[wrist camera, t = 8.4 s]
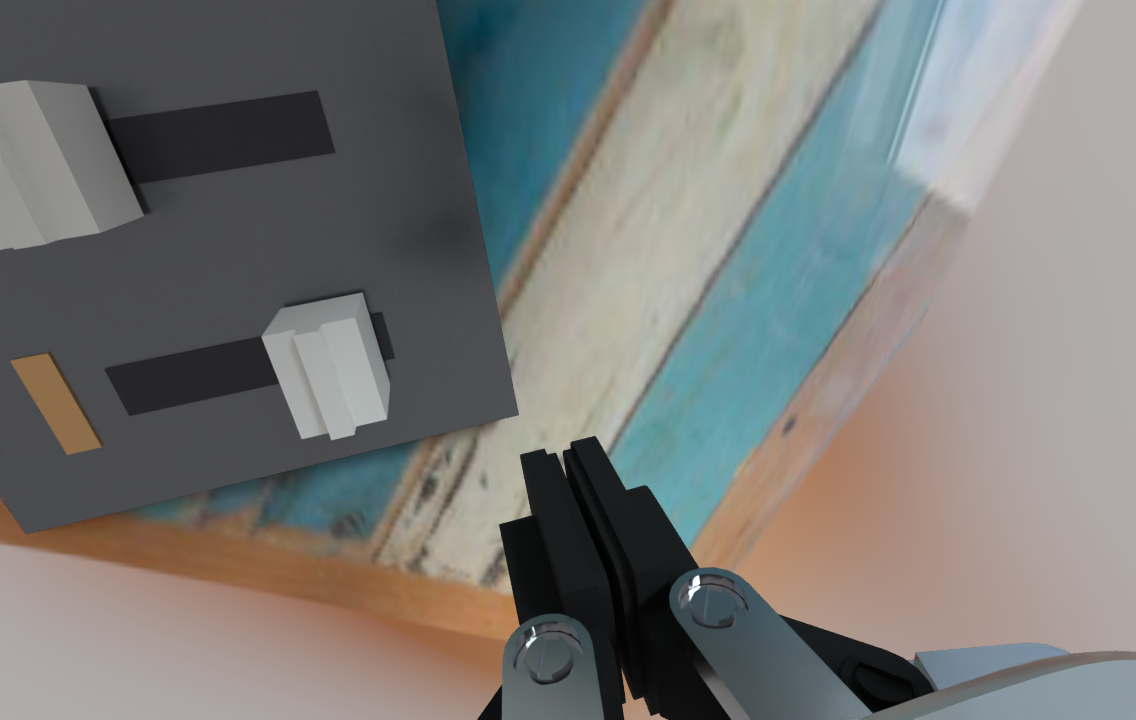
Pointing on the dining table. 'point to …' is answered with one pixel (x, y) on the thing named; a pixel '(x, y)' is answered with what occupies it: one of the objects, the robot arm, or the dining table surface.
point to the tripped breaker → (329, 366)
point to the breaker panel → (239, 246)
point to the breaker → (57, 167)
